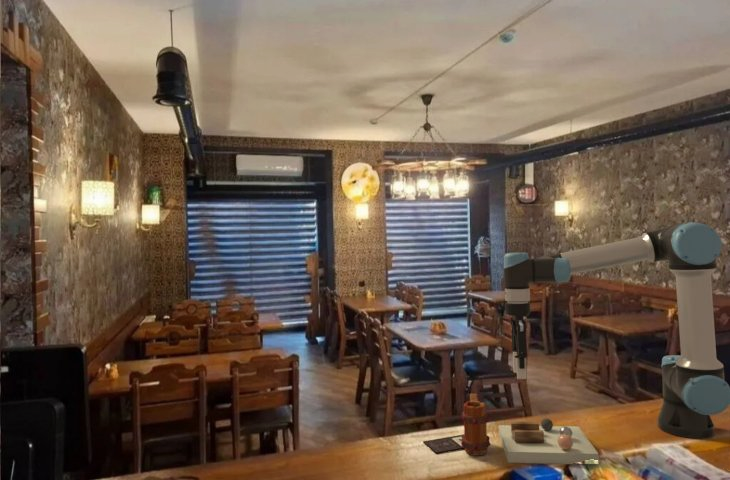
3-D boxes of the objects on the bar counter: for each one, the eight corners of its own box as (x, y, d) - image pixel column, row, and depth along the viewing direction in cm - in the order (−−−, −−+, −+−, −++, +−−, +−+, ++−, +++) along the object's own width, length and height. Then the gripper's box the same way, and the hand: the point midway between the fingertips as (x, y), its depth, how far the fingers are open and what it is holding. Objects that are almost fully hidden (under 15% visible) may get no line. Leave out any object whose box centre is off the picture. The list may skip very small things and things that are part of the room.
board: (578, 436, 158) (578, 426, 158) (599, 464, 138) (598, 453, 138) (498, 434, 161) (498, 425, 161) (507, 462, 141) (507, 451, 141)
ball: (570, 436, 150) (570, 424, 150) (573, 441, 147) (573, 429, 147) (558, 436, 151) (558, 424, 151) (561, 441, 147) (560, 428, 147)
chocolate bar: (423, 441, 157) (474, 432, 163) (423, 444, 157) (475, 435, 163) (435, 452, 148) (490, 442, 154) (436, 455, 148) (490, 445, 154)
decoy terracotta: (571, 446, 143) (570, 432, 143) (574, 452, 139) (574, 437, 139) (556, 446, 144) (555, 432, 144) (559, 452, 140) (559, 437, 140)
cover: (538, 432, 154) (538, 422, 154) (544, 442, 146) (543, 432, 146) (511, 431, 155) (510, 421, 155) (515, 442, 147) (514, 431, 147)
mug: (491, 460, 143) (489, 406, 143) (461, 458, 145) (459, 405, 145) (489, 439, 158) (487, 391, 158) (462, 438, 159) (460, 390, 159)
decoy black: (551, 428, 157) (551, 416, 157) (554, 432, 154) (553, 420, 154) (539, 427, 158) (539, 416, 158) (542, 432, 154) (541, 420, 154)
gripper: (501, 298, 170) (503, 367, 170) (509, 306, 151) (512, 384, 151) (524, 297, 169) (526, 367, 169) (535, 305, 149) (538, 384, 150)
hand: (519, 375), depth 160 cm, fingers open, 6 cm apart
